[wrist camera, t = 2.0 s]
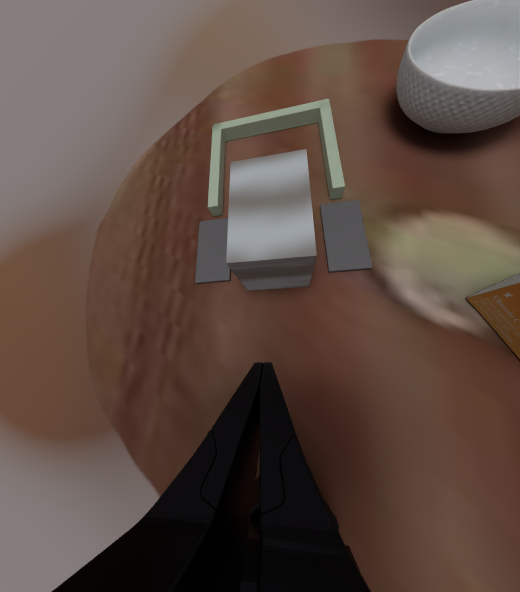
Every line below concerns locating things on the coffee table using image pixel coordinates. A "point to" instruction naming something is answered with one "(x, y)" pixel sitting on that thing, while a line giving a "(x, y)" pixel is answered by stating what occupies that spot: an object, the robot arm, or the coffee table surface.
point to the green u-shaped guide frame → (335, 217)
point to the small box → (502, 309)
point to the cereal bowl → (463, 68)
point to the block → (271, 222)
